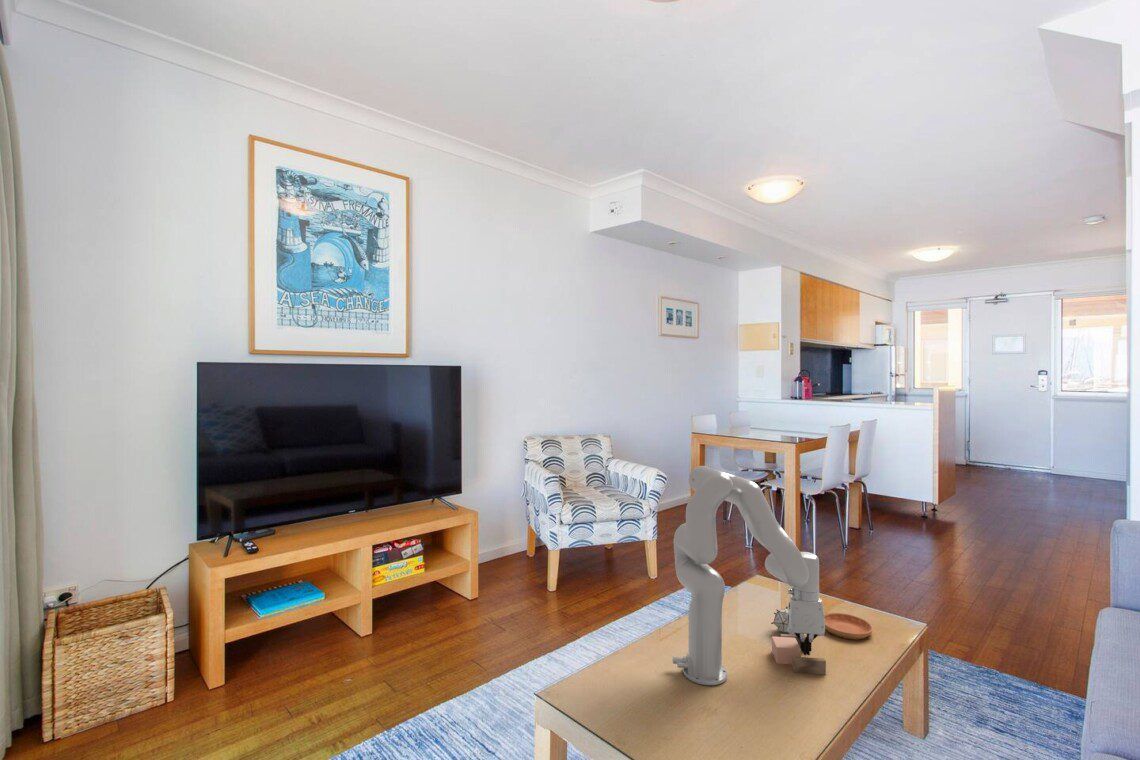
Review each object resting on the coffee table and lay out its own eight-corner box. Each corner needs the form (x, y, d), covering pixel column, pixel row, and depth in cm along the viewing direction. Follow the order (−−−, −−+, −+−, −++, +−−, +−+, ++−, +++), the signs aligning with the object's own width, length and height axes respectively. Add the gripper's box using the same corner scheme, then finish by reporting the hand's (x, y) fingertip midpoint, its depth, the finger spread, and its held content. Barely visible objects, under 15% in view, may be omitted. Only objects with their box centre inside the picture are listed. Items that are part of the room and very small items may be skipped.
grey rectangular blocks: (793, 672, 165) (793, 659, 165) (780, 646, 180) (780, 633, 180) (825, 674, 163) (825, 661, 163) (809, 647, 179) (809, 635, 179)
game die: (791, 645, 189) (806, 628, 183) (767, 635, 189) (782, 619, 183) (788, 622, 196) (802, 605, 191) (765, 613, 196) (779, 596, 191)
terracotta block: (776, 663, 170) (776, 647, 170) (771, 652, 177) (771, 636, 177) (800, 665, 169) (800, 648, 169) (795, 653, 176) (795, 637, 176)
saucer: (860, 621, 198) (861, 613, 198) (881, 643, 182) (881, 634, 182) (814, 619, 200) (814, 611, 200) (830, 641, 184) (830, 632, 184)
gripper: (783, 597, 169) (783, 657, 169) (835, 600, 167) (835, 660, 167) (777, 588, 176) (777, 645, 177) (827, 590, 174) (827, 648, 175)
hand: (805, 653), depth 172 cm, fingers closed
